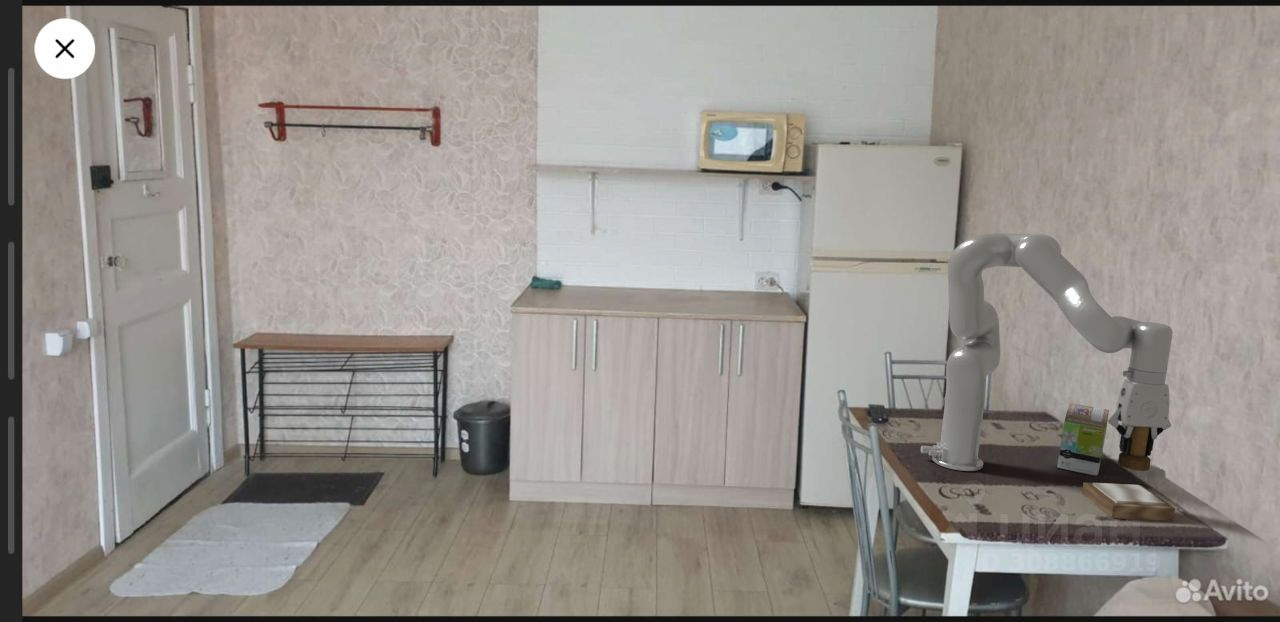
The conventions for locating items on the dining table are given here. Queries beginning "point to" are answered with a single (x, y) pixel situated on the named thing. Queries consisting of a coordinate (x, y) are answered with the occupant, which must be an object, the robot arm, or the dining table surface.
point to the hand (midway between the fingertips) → (1135, 452)
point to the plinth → (1128, 501)
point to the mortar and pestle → (1137, 451)
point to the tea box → (1083, 439)
